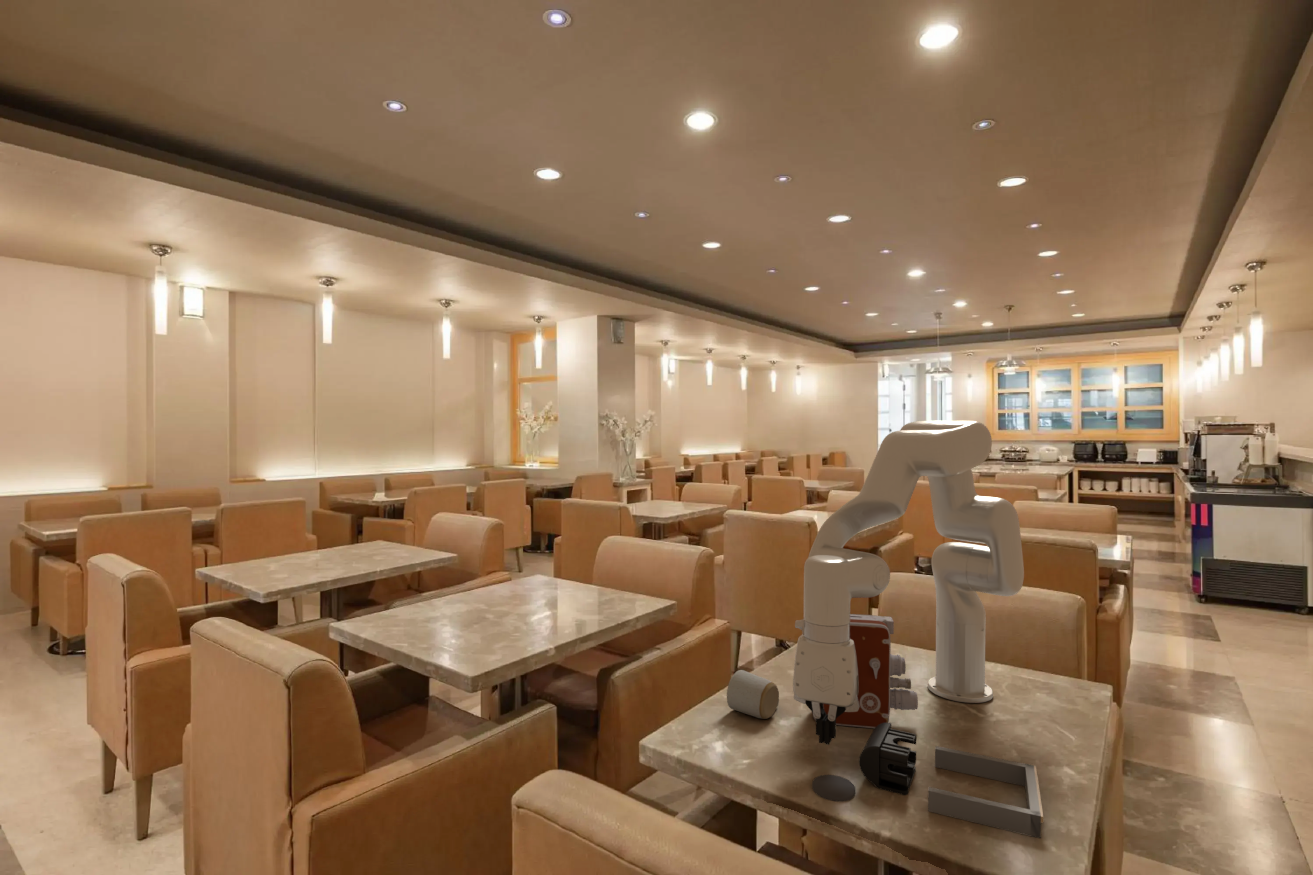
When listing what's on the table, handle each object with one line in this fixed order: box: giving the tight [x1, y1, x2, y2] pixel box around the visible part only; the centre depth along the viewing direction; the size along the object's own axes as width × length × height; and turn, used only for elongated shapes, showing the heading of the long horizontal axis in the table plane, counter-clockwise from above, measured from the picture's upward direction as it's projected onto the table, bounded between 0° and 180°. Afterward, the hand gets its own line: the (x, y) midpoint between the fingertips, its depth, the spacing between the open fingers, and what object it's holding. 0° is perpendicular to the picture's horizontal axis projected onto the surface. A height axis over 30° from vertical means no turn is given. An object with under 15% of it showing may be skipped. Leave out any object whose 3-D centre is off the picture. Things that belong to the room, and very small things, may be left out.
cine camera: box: [812, 613, 919, 729], centre depth 126 cm, size 9×19×20 cm, turn 78°
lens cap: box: [811, 774, 856, 802], centre depth 102 cm, size 6×6×1 cm
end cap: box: [858, 722, 917, 796], centre depth 106 cm, size 10×7×7 cm
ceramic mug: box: [726, 669, 780, 720], centre depth 131 cm, size 11×8×8 cm
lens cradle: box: [927, 745, 1044, 839], centre depth 100 cm, size 15×14×3 cm
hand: (825, 740), depth 111 cm, fingers closed
